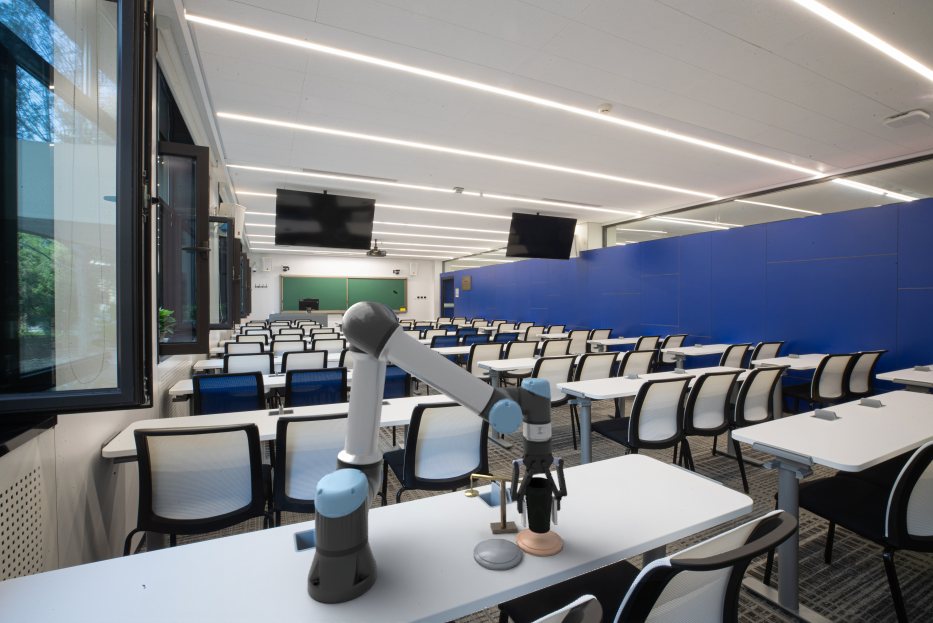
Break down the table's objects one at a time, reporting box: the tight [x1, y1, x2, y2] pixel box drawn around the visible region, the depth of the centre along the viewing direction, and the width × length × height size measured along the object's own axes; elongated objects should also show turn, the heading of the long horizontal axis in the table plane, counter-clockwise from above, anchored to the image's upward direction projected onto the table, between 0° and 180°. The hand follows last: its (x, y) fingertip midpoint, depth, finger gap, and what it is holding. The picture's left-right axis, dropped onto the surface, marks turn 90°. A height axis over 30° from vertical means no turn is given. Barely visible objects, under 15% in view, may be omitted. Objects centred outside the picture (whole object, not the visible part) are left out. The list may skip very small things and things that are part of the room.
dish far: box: [516, 527, 563, 557], centre depth 106 cm, size 12×12×1 cm
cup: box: [524, 476, 553, 534], centre depth 107 cm, size 8×8×12 cm
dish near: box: [473, 538, 522, 571], centre depth 101 cm, size 12×12×1 cm
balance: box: [464, 473, 522, 535], centre depth 114 cm, size 22×4×16 cm, turn 96°
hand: (539, 523), depth 107 cm, fingers closed on cup, 8 cm apart
